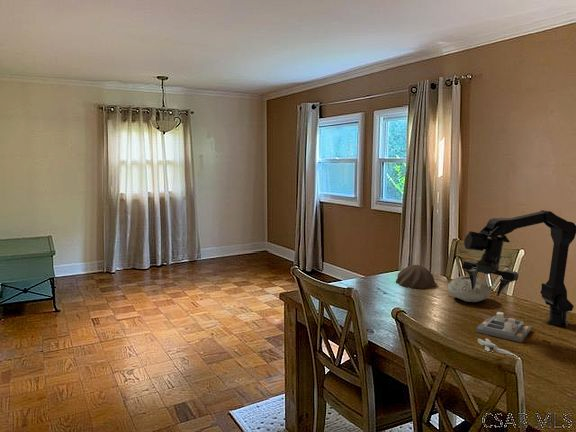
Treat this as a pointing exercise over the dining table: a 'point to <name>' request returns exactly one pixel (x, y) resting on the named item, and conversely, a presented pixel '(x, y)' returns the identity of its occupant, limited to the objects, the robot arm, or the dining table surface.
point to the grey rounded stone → (469, 289)
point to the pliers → (491, 345)
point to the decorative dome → (415, 277)
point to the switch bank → (496, 329)
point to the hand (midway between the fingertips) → (485, 292)
